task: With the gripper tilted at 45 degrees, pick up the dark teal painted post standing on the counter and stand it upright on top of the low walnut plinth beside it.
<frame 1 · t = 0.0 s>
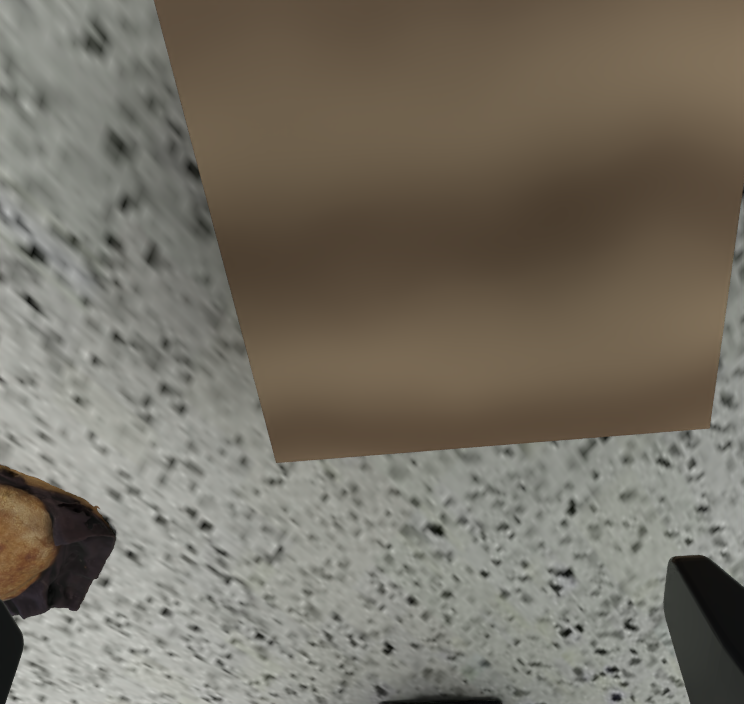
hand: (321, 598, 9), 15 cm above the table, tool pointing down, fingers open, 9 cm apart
walnut plinth: (462, 205, 21), on the table
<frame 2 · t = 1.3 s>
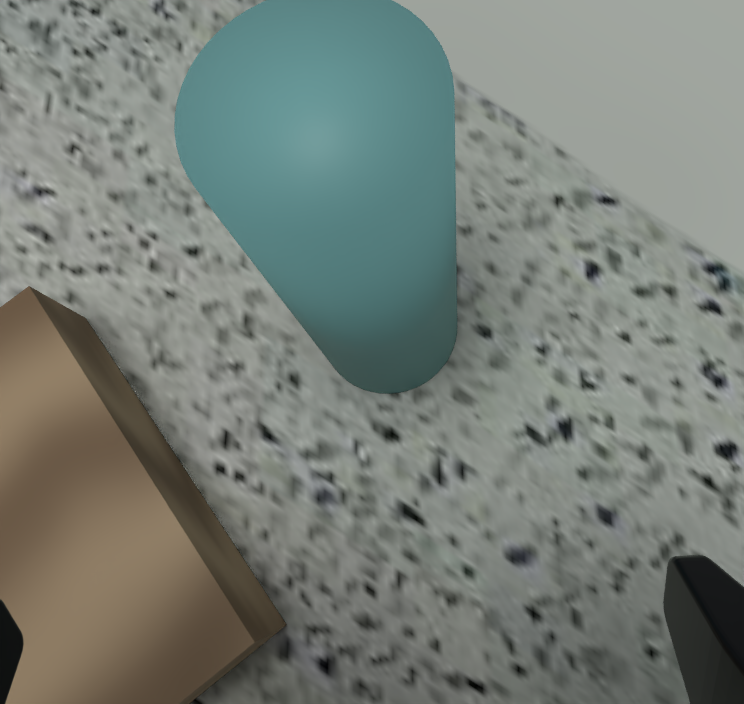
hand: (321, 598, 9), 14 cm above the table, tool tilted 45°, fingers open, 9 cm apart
teal post: (388, 326, 24), on the table
walnut plinth: (19, 581, 23), on the table
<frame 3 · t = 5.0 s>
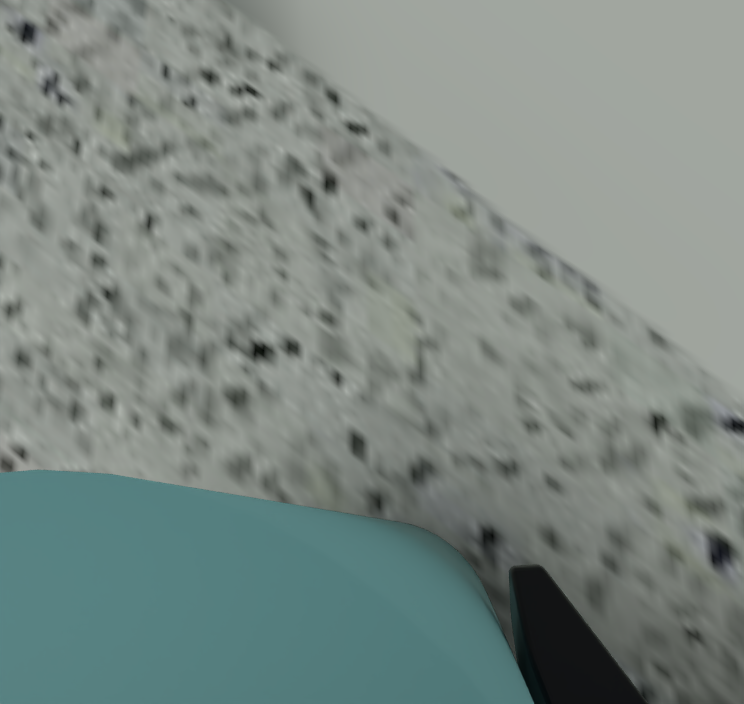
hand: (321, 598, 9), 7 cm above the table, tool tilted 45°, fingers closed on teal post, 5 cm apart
teal post: (383, 635, 15), on the table, touching gripper
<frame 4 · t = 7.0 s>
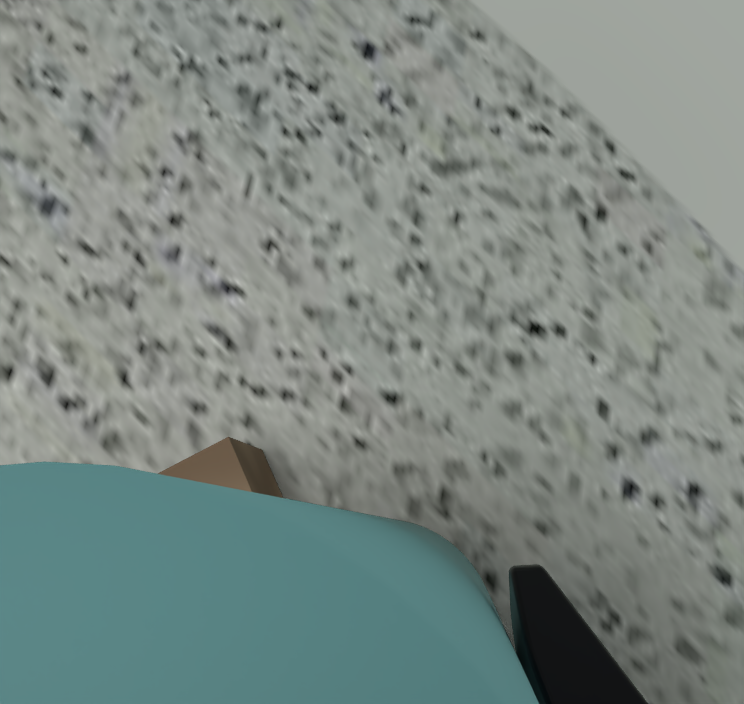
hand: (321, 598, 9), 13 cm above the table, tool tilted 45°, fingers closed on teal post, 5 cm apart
teal post: (385, 634, 15), point 7 cm above the table, touching gripper
when the fingers open (11 cm above the table, at t = 9.4 s): teal post drops 1 cm, resting on walnut plinth.
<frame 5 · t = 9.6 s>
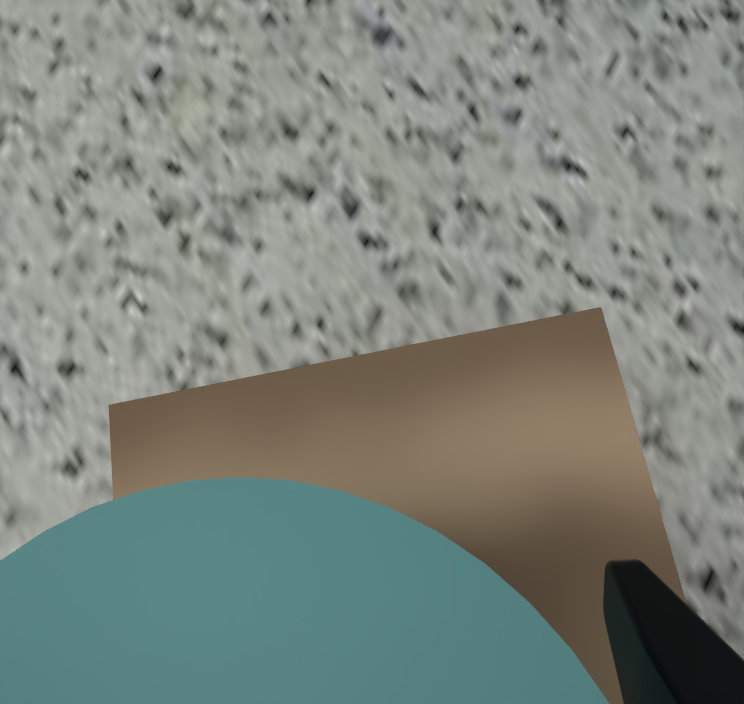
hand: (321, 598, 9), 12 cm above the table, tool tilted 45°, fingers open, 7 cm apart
teal post: (389, 629, 16), point 4 cm above the table, touching walnut plinth
walnut plinth: (402, 610, 19), on the table
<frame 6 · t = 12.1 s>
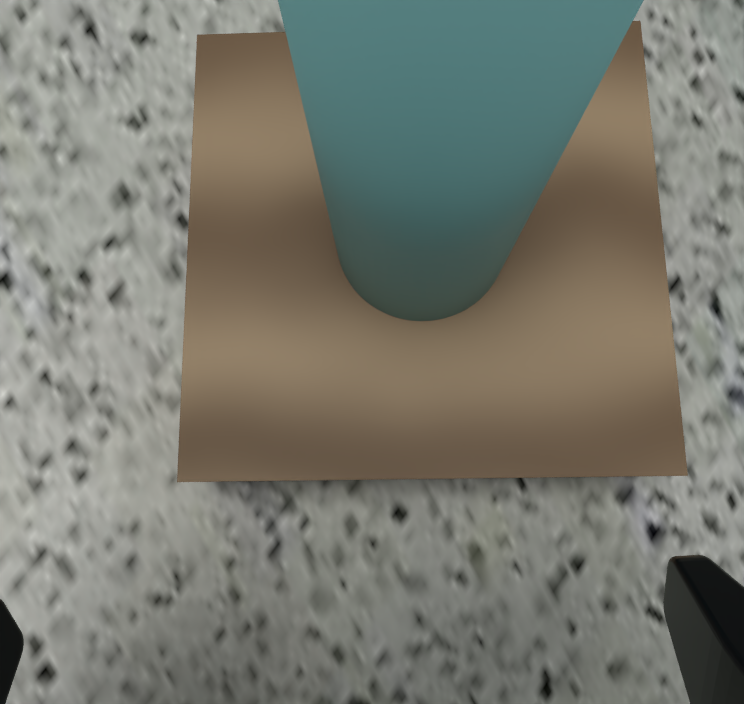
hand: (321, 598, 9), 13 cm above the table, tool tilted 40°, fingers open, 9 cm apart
teal post: (421, 238, 19), point 4 cm above the table, touching walnut plinth
walnut plinth: (418, 274, 23), on the table
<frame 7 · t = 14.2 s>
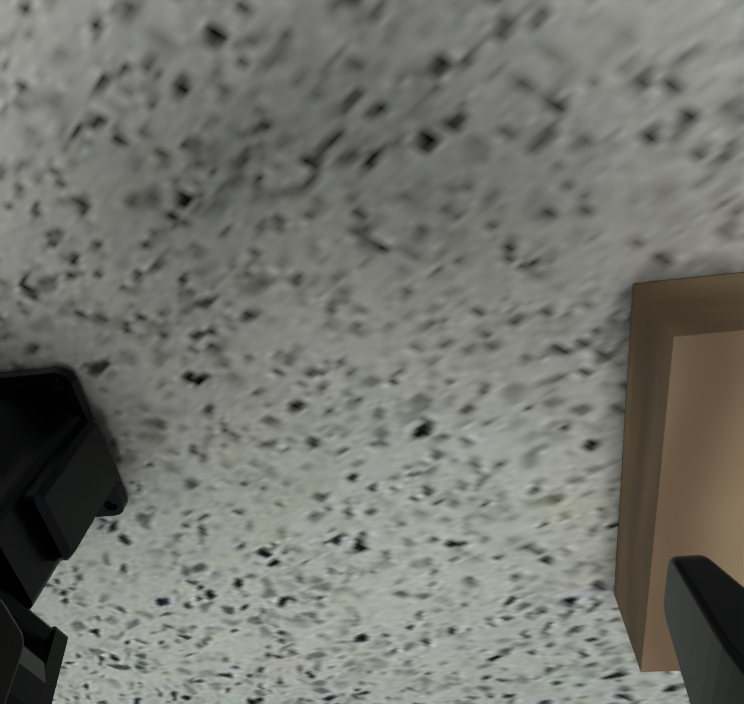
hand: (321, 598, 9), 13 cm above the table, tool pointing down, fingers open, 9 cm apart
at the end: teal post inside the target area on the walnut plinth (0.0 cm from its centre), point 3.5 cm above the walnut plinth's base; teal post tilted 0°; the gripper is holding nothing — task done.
